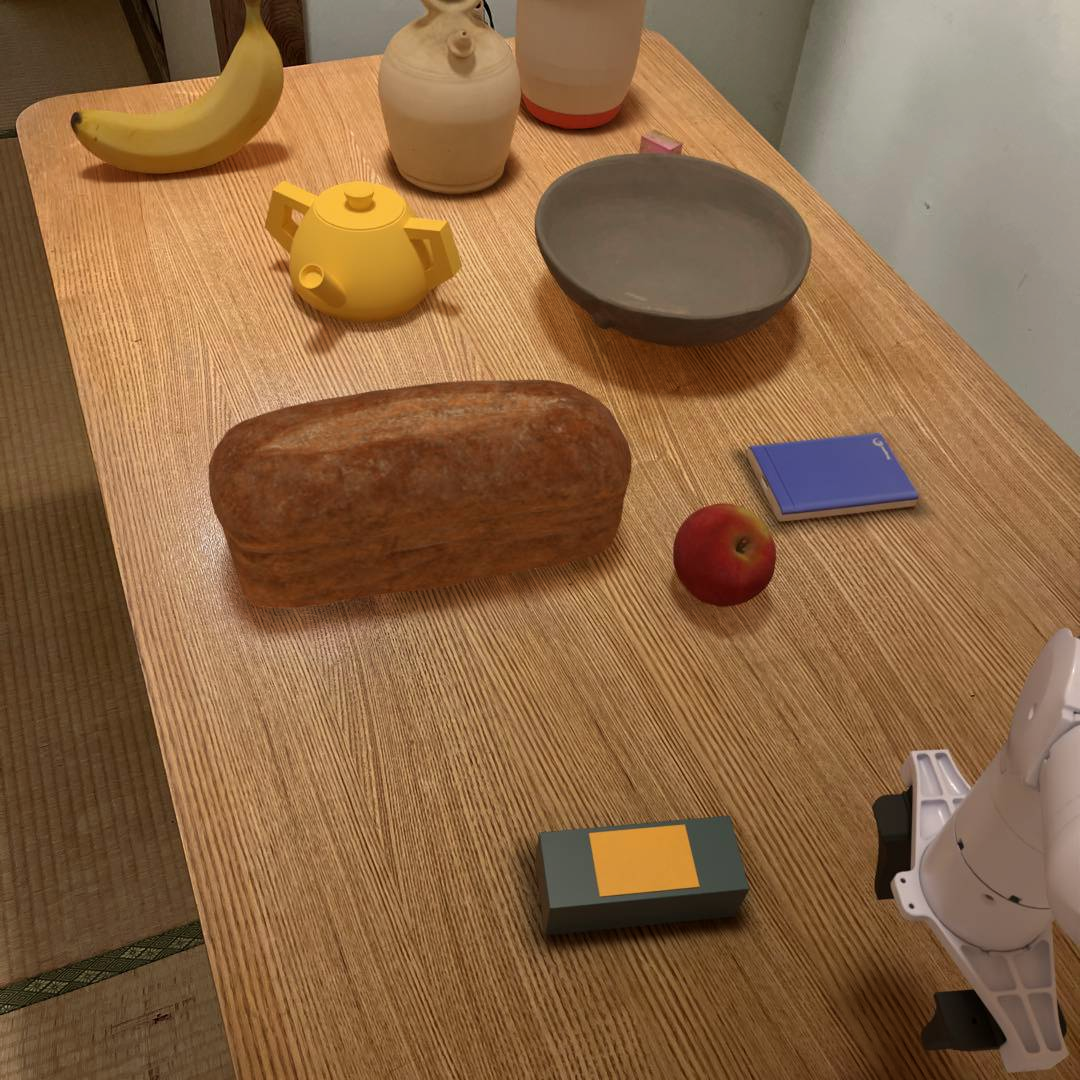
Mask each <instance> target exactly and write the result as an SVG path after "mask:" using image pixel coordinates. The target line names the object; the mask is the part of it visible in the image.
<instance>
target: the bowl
mask: <svg viewBox="0 0 1080 1080" xmlns="http://www.w3.org/2000/svg"><path fill="white" fill-rule="evenodd" d="M534 235H535V236H534V237H535V240H536V245H537V247H538V250H539V252H540V255H541V258H542V260H543V262H544V264H545V266H546V268H547V270H548V272H549V273H550V275H551V276H552V279H554V281H555V282H556V285H557V286H558V288H559V289H560V290H561V291H562V293H564V295H565V296H567V298H569V300H570V301H572V302H573V303H574V304H575V305H576V306H578V307H579V308H580V309H581V310H583V311H584V312H586V314H588V315H589V316H590V317H591V319H592V322H593V324H594V325H595V326H596V327H597V328H598V329H600V330H604V331H607V330H609V329H612V330H614V331H616V332H618V333H619V334H621V335H624V336H627V337H629V338H632V339H635V340H638V341H640V342H644V343H648V344H652V345H653V344H654V345H658V346H663V347H670V348H698V347H699V348H700V347H708V346H714V345H719V344H723V343H727V342H731V341H734V340H736V339H738V338H741V337H743V336H746V335H748V334H750V333H752V332H753V331H755V330H758V329H759V328H762V327H763V326H764V325H766V324H767V323H768V322H770V321H771V320H773V318H775V317H776V316H777V315H778V314H779V313H780V312H781V311H782V310H783V309H784V308H785V307H786V306H787V305H788V304H789V303H790V302H791V300H792V299H793V298H794V296H795V295H796V294H797V292H798V291H799V288H800V287H801V285H802V284H803V283H804V280H805V278H806V276H807V274H808V272H809V268H810V265H811V261H812V252H813V249H812V238H811V234H810V231H809V228H808V226H807V224H806V222H805V220H804V219H803V217H802V215H801V214H800V213H799V211H798V210H797V209H796V208H795V206H794V205H792V204H791V203H790V202H789V201H788V200H787V199H786V198H785V197H784V196H782V195H781V194H780V193H779V192H778V191H777V190H776V189H774V188H772V187H771V186H769V185H768V184H766V183H765V182H763V181H761V180H760V179H757V178H756V177H754V176H752V175H750V174H748V173H746V172H744V171H742V170H739V169H737V168H735V167H732V166H729V165H725V164H723V163H720V162H716V161H713V160H710V159H705V158H701V157H696V156H693V155H686V154H681V155H680V154H671V153H639V152H638V153H624V154H622V153H621V154H614V155H609V156H603V157H601V158H597V159H594V160H591V161H588V162H585V163H583V164H580V165H578V166H576V167H574V168H571V169H570V170H567V171H566V172H564V173H563V174H562V175H560V176H559V177H557V178H556V179H555V180H553V181H552V182H551V183H550V184H549V185H548V187H547V188H546V189H545V190H544V192H543V193H542V195H541V196H540V199H539V201H538V204H537V206H536V210H535V214H534Z"/></svg>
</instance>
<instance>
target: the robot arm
mask: <svg viewBox="0 0 1080 1080" xmlns="http://www.w3.org/2000/svg"><path fill="white" fill-rule="evenodd" d="M898 771H899V774H900V777H901V779H902V783H903V785H904V786H905V787H906V788H908V789H907V790H903V791H902V792H901V793H891V794H883V795H881V796H879V797H878V798H876V799H875V801H874V802H873V803H872V806H871V810H872V815H873V817H874V820H875V824H876V828H877V829H876V830H877V839H878V841H877V842H878V851H877V861H876V862H877V863H876V869H875V875H874V882H873V883H874V884H873V890H874V893H875V896H876V899H877V901H883V900H894V902H895V905H896V908H897V911H898V913H899V914H900V916H901V917H902V918H903V919H904V920H906V921H910V922H922V923H925V924H926V925H927V926H928V927H929V929H930V930H931V931H932V932H933V934H934V935H935V937H936V938H937V940H938V942H940V944H941V945H942V947H943V948H944V949H945V951H946V952H947V954H948V955H949V956H950V958H951V959H952V961H953V962H954V963H955V965H956V966H957V968H958V969H959V970H960V972H961V974H962V976H964V978H965V979H966V980H967V981H968V984H970V986H971V987H972V989H961V990H960V989H958V990H947V991H936V992H934V994H932V997H933V1000H934V1003H935V1010H934V1014H933V1016H932V1018H931V1019H930V1021H929V1022H928V1023H927V1024H925V1026H924V1027H923V1028H922V1029H921V1030H920V1035H919V1037H920V1041H921V1043H922V1046H923V1049H924V1051H926V1052H931V1051H932V1052H933V1051H942V1050H943V1051H944V1050H953V1051H960V1052H972V1053H973V1052H985V1051H995V1050H996V1051H997V1050H998V1051H999V1055H1000V1057H1001V1061H1002V1063H1003V1066H1004V1068H1005V1071H1006V1073H1009V1074H1011V1073H1024V1072H1037V1071H1045V1070H1046V1071H1047V1070H1051V1069H1052V1068H1054V1067H1055V1066H1056V1065H1058V1064H1059V1063H1061V1062H1062V1061H1063V1060H1064V1059H1066V1058H1068V1057H1069V1055H1070V1054H1069V1053H1070V1052H1069V1051H1068V1047H1067V1045H1066V1042H1065V1040H1064V1039H1065V1037H1066V1036H1067V1032H1068V1027H1067V1026H1068V1025H1067V1021H1066V1018H1065V1016H1064V1012H1063V1011H1062V1008H1061V1006H1060V1004H1059V1000H1058V998H1057V997H1058V996H1057V982H1056V981H1057V980H1056V969H1055V967H1056V966H1055V953H1054V952H1055V951H1054V941H1053V940H1054V936H1053V922H1054V921H1056V923H1057V924H1058V926H1059V928H1060V929H1061V930H1062V931H1063V932H1064V934H1066V936H1067V937H1068V938H1069V939H1070V940H1071V941H1072V942H1074V944H1076V946H1078V947H1079V948H1080V634H1079V635H1078V636H1074V635H1073V632H1072V630H1071V629H1070V628H1069V627H1062V628H1060V629H1059V630H1057V631H1056V632H1055V633H1054V634H1053V635H1052V636H1051V637H1050V638H1049V639H1048V641H1046V643H1045V645H1044V646H1043V648H1042V649H1041V651H1040V652H1039V655H1038V656H1037V658H1036V659H1035V661H1034V663H1033V665H1032V667H1031V668H1030V670H1029V672H1028V674H1027V676H1026V678H1025V680H1024V682H1023V684H1022V688H1021V690H1020V692H1019V695H1018V697H1017V701H1016V703H1015V707H1014V710H1013V713H1012V718H1011V723H1010V727H1009V731H1008V736H1007V740H1006V741H1005V742H1004V743H1003V745H1002V746H1001V747H1000V749H999V750H998V751H997V752H996V754H995V756H993V759H991V761H990V762H989V764H988V765H987V766H986V768H985V769H984V770H983V772H982V773H981V774H980V776H979V777H978V779H977V780H976V781H975V783H974V784H973V785H972V787H971V785H970V784H969V783H968V781H967V780H966V779H965V777H964V776H963V775H962V772H960V770H959V768H958V767H957V765H956V763H955V761H954V758H953V756H952V755H951V751H950V750H949V749H947V748H946V749H945V748H943V749H921V750H911V751H910V752H909V754H908V756H907V757H906V759H905V760H904V761H903V763H902V765H901V766H900V769H899V770H898Z"/></svg>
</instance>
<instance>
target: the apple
mask: <svg viewBox="0 0 1080 1080" xmlns="http://www.w3.org/2000/svg"><path fill="white" fill-rule="evenodd" d="M672 560H673V562H672V563H673V567H674V571H675V573H676V576H677V578H678V579H679V581H680V583H681V584H682V586H683V587H684V589H686V590H687V591H688V592H689V593H690V594H691V596H692V597H694V598H695V599H697V600H698V601H699V602H701V603H703V604H706V605H710V606H714V607H718V608H719V607H721V608H726V607H734V606H739V605H742V604H745V603H747V602H750V601H752V600H753V599H755V598H756V597H758V596H759V595H760V594H761V593H763V592H764V590H766V588H767V587H768V586H769V584H770V583H771V581H772V579H773V577H774V574H775V569H776V563H777V547H776V543H775V541H774V537H773V535H772V533H771V531H770V529H769V528H768V526H767V525H766V523H765V522H764V521H763V520H762V519H761V518H760V517H759V516H758V515H757V514H755V513H754V512H752V511H751V510H750V509H747V508H746V507H743V506H741V505H737V504H734V503H727V502H725V503H723V502H721V503H720V502H718V503H713V504H710V505H706V506H704V507H701V508H698V509H696V510H695V511H693V512H692V513H691V514H690V515H688V516H687V517H686V518H685V520H684V521H683V522H682V523H681V525H680V527H679V528H678V530H677V532H676V535H675V536H674V541H673V548H672Z"/></svg>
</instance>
